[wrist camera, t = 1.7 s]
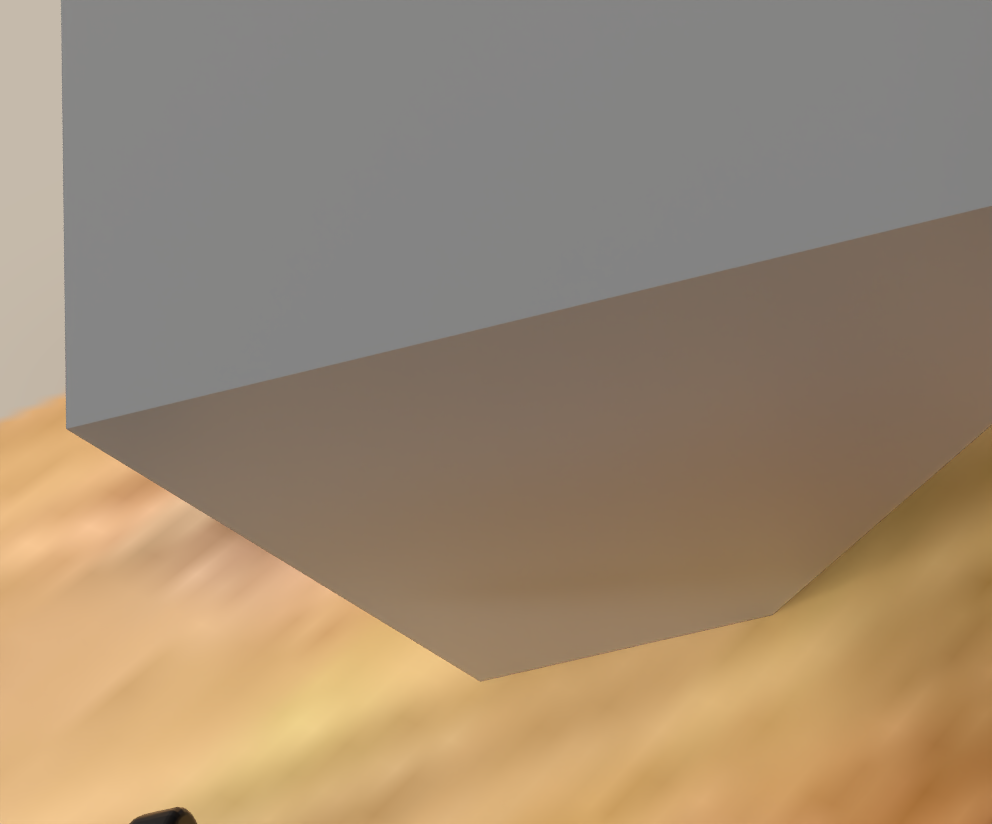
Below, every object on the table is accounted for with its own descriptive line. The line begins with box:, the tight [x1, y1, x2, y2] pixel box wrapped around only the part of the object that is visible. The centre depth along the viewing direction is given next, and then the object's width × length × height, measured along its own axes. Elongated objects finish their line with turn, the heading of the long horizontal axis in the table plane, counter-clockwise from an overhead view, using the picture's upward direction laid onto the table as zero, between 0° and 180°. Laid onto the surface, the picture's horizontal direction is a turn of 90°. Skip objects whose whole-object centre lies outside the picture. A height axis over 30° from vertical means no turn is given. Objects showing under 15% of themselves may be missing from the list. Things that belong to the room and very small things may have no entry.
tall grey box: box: [61, 0, 992, 681], centre depth 13 cm, size 7×7×16 cm
